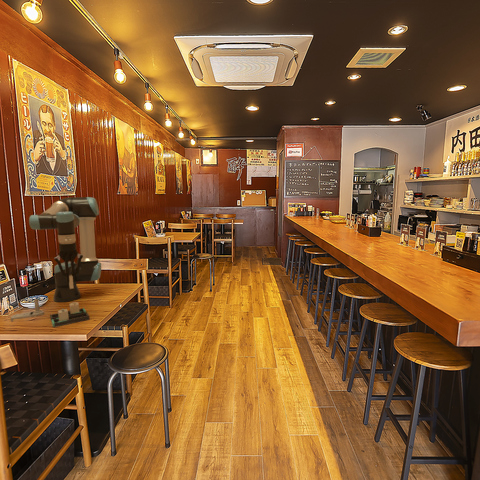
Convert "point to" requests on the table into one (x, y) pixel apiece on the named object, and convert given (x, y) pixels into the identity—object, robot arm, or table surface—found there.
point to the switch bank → (72, 317)
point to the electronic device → (29, 314)
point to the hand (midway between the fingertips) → (71, 287)
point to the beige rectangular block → (74, 307)
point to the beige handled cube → (63, 314)
